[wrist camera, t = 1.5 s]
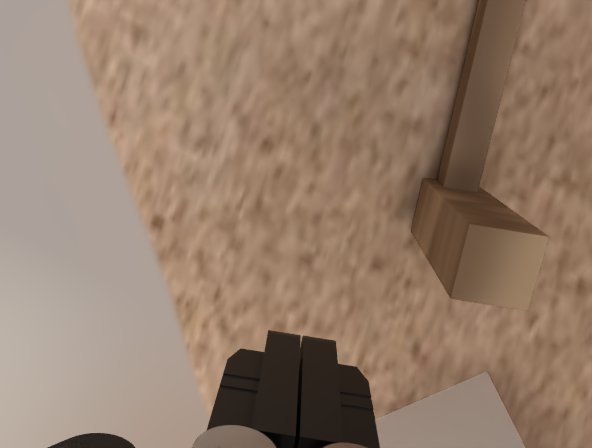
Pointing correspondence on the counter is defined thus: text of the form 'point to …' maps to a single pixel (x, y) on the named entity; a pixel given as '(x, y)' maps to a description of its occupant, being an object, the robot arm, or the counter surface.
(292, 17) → the counter surface
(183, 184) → the counter surface
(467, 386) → the milk
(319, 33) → the counter surface
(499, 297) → the lever
